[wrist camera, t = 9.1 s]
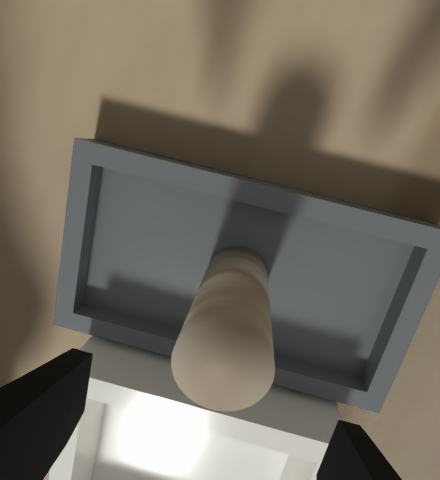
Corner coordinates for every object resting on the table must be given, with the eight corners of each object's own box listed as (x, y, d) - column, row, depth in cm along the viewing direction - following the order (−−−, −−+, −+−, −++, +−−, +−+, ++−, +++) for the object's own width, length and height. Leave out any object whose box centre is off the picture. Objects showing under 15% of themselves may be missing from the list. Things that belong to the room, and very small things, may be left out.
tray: (72, 308, 21) (53, 324, 19) (93, 139, 18) (74, 138, 16) (367, 387, 20) (379, 413, 18) (436, 224, 17) (458, 233, 15)
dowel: (201, 294, 19) (162, 395, 11) (214, 239, 18) (182, 308, 10) (258, 309, 19) (259, 422, 11) (274, 254, 18) (287, 335, 10)
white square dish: (76, 494, 25) (37, 568, 20) (102, 323, 21) (62, 370, 16) (267, 550, 24) (269, 638, 20) (331, 385, 20) (351, 450, 16)
